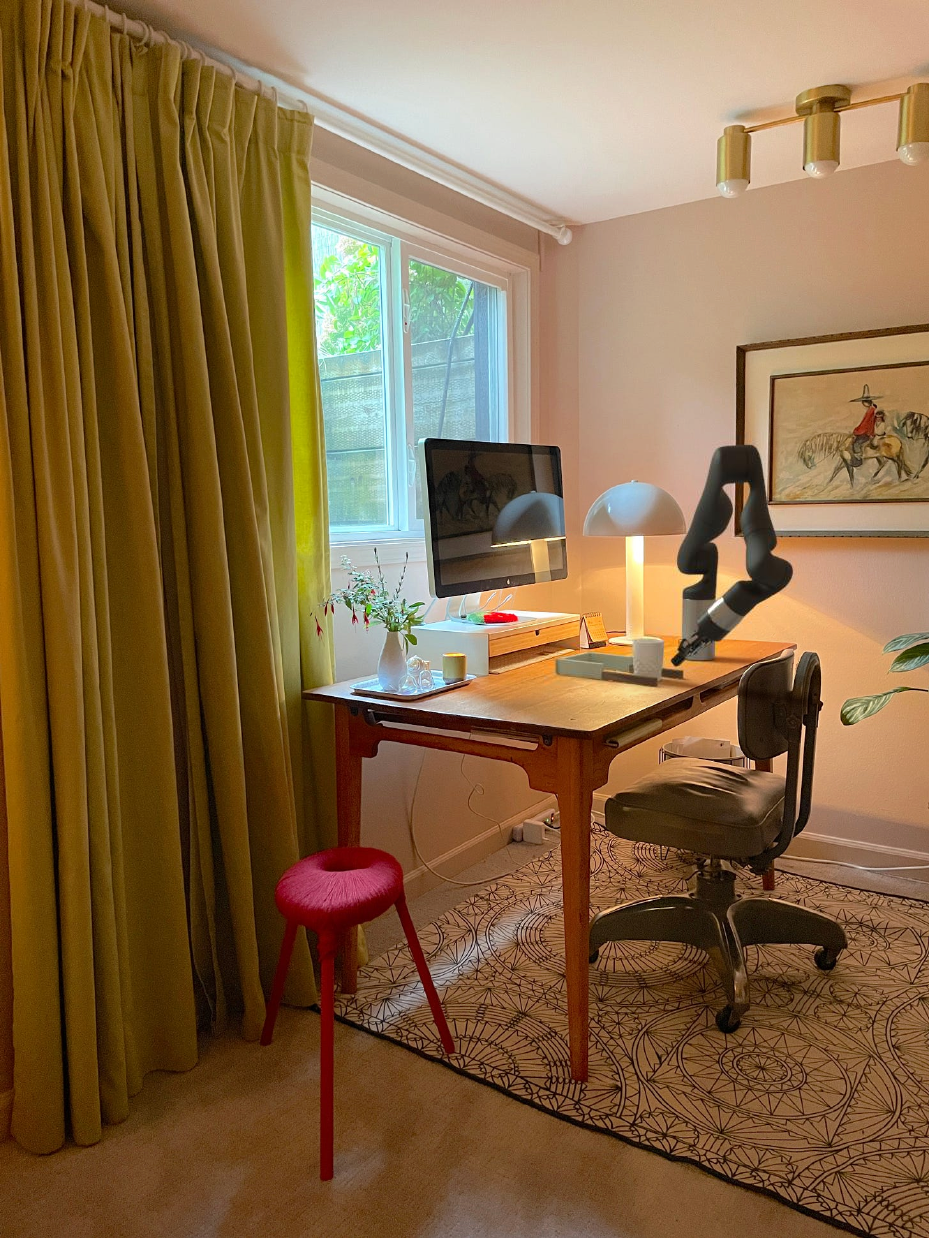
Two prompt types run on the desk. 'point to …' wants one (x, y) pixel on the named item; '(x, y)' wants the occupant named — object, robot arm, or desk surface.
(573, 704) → the desk surface
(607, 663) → the tray
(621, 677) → the channel
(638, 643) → the white cup
